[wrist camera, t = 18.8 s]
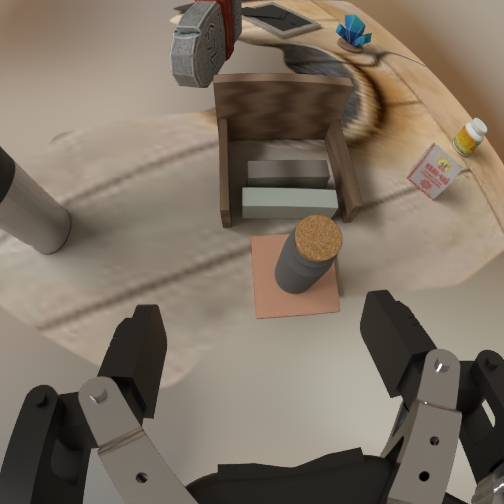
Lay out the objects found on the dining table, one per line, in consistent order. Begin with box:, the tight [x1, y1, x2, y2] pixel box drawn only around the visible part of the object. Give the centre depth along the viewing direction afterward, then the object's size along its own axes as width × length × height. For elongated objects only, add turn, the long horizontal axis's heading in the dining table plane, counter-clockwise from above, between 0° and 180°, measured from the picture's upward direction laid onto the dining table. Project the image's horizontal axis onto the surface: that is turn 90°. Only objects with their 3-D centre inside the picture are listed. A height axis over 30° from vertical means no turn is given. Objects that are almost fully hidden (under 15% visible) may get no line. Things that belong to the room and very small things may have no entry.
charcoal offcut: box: [247, 160, 330, 190], centre depth 45 cm, size 12×3×6 cm, turn 93°
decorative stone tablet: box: [169, 0, 242, 88], centre depth 49 cm, size 19×6×30 cm
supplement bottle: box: [453, 118, 487, 156], centre depth 49 cm, size 5×5×10 cm
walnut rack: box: [213, 73, 363, 228], centre depth 42 cm, size 21×19×14 cm
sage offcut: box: [242, 188, 338, 219], centre depth 44 cm, size 14×3×4 cm, turn 90°
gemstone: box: [336, 15, 372, 53], centre depth 57 cm, size 7×9×12 cm
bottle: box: [275, 215, 342, 294], centre depth 35 cm, size 6×6×15 cm
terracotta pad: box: [251, 234, 340, 319], centre depth 43 cm, size 12×12×1 cm
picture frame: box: [241, 2, 321, 39], centre depth 66 cm, size 16×3×21 cm
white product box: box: [407, 143, 462, 200], centre depth 44 cm, size 4×7×10 cm, turn 50°
